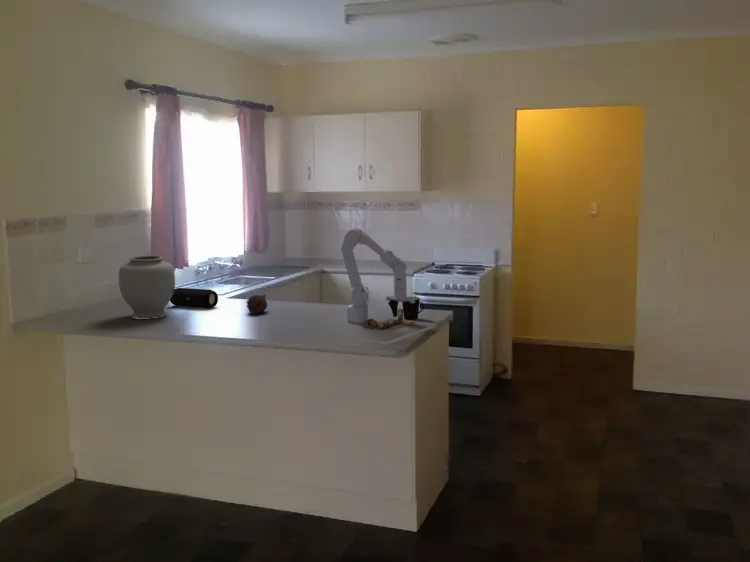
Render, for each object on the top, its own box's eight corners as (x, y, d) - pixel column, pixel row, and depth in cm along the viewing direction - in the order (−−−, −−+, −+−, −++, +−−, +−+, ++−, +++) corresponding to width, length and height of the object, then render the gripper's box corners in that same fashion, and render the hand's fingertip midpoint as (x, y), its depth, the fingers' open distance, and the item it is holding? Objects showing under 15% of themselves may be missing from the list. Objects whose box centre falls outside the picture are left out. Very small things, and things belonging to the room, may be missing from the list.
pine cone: (264, 316, 368) (252, 300, 365) (249, 324, 371) (237, 309, 369) (275, 300, 383) (263, 285, 381) (260, 309, 387) (248, 293, 384)
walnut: (368, 327, 331) (368, 320, 331) (373, 326, 334) (372, 319, 333) (374, 328, 329) (374, 321, 329) (378, 326, 332) (378, 319, 331)
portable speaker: (168, 307, 397) (167, 289, 396) (180, 304, 406) (179, 286, 405) (208, 310, 387) (207, 291, 385) (219, 306, 396) (218, 288, 394)
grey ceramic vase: (184, 311, 385) (181, 253, 380) (165, 321, 359) (161, 260, 354) (135, 311, 388) (130, 254, 383) (112, 321, 361) (107, 260, 357)
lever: (377, 328, 328) (377, 315, 327) (399, 321, 342) (399, 308, 341) (382, 328, 326) (382, 316, 325) (404, 321, 340) (404, 309, 339)
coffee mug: (399, 318, 356) (398, 297, 354) (415, 316, 359) (415, 296, 357) (408, 322, 345) (408, 301, 343) (425, 321, 348) (425, 299, 346)
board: (364, 329, 332) (363, 320, 331) (390, 321, 348) (390, 312, 348) (396, 334, 322) (396, 324, 321) (421, 325, 338) (421, 316, 338)
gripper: (418, 287, 337) (418, 317, 339) (391, 285, 345) (392, 314, 347) (410, 290, 331) (410, 320, 333) (383, 287, 339) (383, 316, 341)
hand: (400, 317), depth 340 cm, fingers open, 5 cm apart
